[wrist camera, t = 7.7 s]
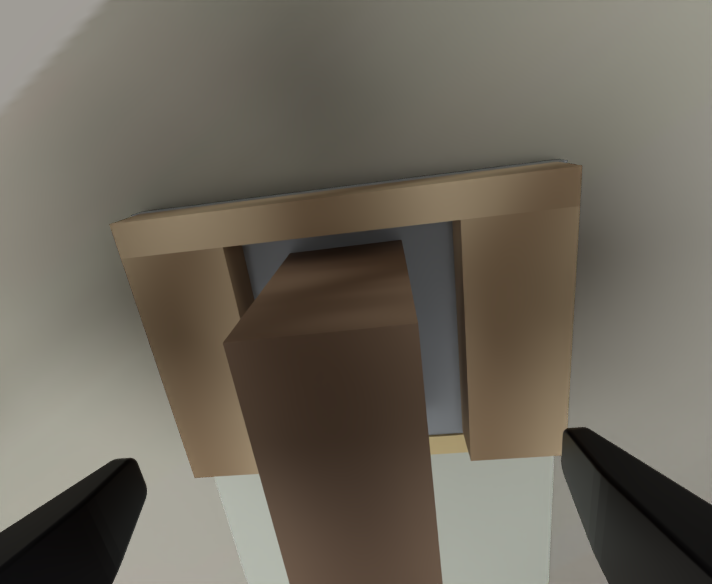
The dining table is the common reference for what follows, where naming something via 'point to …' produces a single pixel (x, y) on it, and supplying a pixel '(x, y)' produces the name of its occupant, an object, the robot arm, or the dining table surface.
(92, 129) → the dining table surface
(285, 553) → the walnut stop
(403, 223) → the rails
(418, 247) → the door board
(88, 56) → the dining table surface
